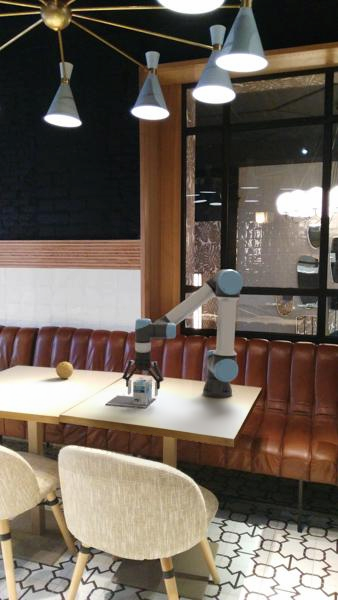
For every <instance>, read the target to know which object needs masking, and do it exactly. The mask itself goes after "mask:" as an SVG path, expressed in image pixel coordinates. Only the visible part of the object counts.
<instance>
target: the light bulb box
mask: <svg viewBox="0 0 338 600" xmlns="http://www.w3.org/2000/svg"><path fill="white" fill-rule="evenodd" d="M152 378H153V377H151V378H150V377H138V378H136V380H134V381H133V382H132V388H133V389H132V391H133V392H132V396H133V404H138V405H147V404H148V403H149V402H150V401H151V400H152V398H153V379H152Z"/></svg>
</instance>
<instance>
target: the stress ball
mask: <svg viewBox="0 0 338 600" xmlns="http://www.w3.org/2000/svg"><path fill="white" fill-rule="evenodd" d="M55 372H56V374H57V376H58V377H59V378H61V379H62V380H67V379H68V378H70V377H72V375H73V373H74V366H73V364H72V363H70V362H68V361H62V362H60V363H57V365H56V367H55Z"/></svg>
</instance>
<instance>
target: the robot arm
mask: <svg viewBox="0 0 338 600" xmlns="http://www.w3.org/2000/svg"><path fill="white" fill-rule="evenodd" d="M243 281H244V280H243V277H242V275H241V274H240V273H239V272H238V271H236V270H234V269H220V270H218V271H216V272H215V273H214V274H213V275H212V276H211V277H210V278H208V279H207V280H206V281H205V282H204V283H203V286H201V287H200V288H198V289H197V290H196V291H195V292H193V293H192V294H191V295H189V296H188V297H187V298H186V299H185V300H183V301H182V302H180V303H179V304H177V305H176V306H175V307H174V308H172V309H171V310H170V311H169V312H168V313H166V314H164V316H162V317H160V318H159V319H156V320H155V321H154V322H152V319H150V318H137V319H136V320H135V325H134V326H135V327H134V332H135V333H134V336H135V343H134V349H135V352H134V357H135V358H134V359H135V360H133V359H130V360H129V361H128V365H127V367H126V369H125V371H124V373H123V375H122V377H121V378H122V380H125V386H126V388H127V394H128V395H130V394H132V379H131V378H132V377H133V376H134V374H136V372H137V371H138V370H139V371H143V372H144V371H147V372H148V373H149V374H150V376H151V378H153V379H154V381H155V382H154V397H158V395H159V390H160V388H161V383H162V382H163V381H164V380H165V379H164V376H163V374H162V371H161V370H160V367H159V366H158V361H157V360H156V361H152V360H151V359H152V351H151V349H152V339H164V340H165V339H168V340H169V339H175V338H176V336H177V325H178V324H180V323H181V322H182V321H184V320H185V319H186V318H188V317H189V316H190V315H192V314H194V312H196V311H197V310H198V309H199V308H201V307H202V306H203V305H205V304H206V303H207V302H209V301H210V300H212V299H214V298H216V299H217V300H218V303H217V304H218V307H217V308H218V310H217V326H216V327H217V328H216V343H215V344H216V348H215V349H210V350H207V351H206V356H205V357H206V379H205V382H204V385H203V389H202V395H204V396H205V397H209V398H228V397H229V398H230V397H231V396H232V395H233V388H232V386H231V383H230V382H232V381H234V380H235V378H236V377H237V376H238V375H239V374H238V373H239V365H238V364H237V363H238V362H237V358H238V357H237V356H238V354H237V352H236V351H235V336H236V335H235V333H236V317H237V316H236V313H237V301H238V300H239V299H240V297H241V290H242V288H243V285H244V282H243ZM133 365H135V367H134V368H133V369H132V370H131V368H132V367H133ZM151 366H152V367H153V368H154V370H155V371H154V370H153V368H152V367H151ZM130 371H131V372H130ZM129 372H130V373H129Z"/></svg>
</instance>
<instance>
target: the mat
mask: <svg viewBox="0 0 338 600" xmlns="http://www.w3.org/2000/svg"><path fill="white" fill-rule="evenodd" d="M154 401H156V398H155V397H152V400H151V401H150V402H149V403H148V404H147V405H138V404H133V395H132V396H131V395H118V394H117V395H116V396H114V397H113V398H112V399H110V400H109V401H107V402H105V406H110V405H112V407H122V408H123V407H124V408H137V409H147V408H148V407H149V406H150V405H151V404H153V402H154Z"/></svg>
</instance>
